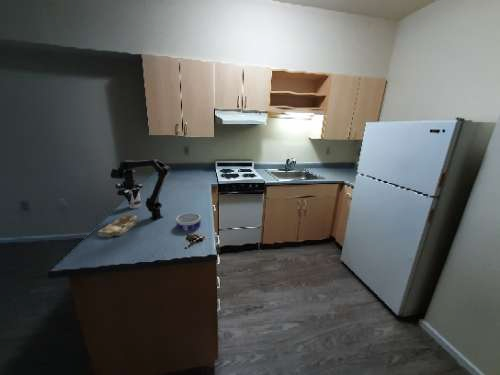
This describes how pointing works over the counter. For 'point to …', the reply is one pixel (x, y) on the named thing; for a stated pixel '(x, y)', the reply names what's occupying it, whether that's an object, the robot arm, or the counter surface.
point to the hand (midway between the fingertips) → (132, 200)
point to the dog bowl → (188, 221)
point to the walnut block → (125, 218)
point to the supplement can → (135, 201)
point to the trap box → (117, 228)
